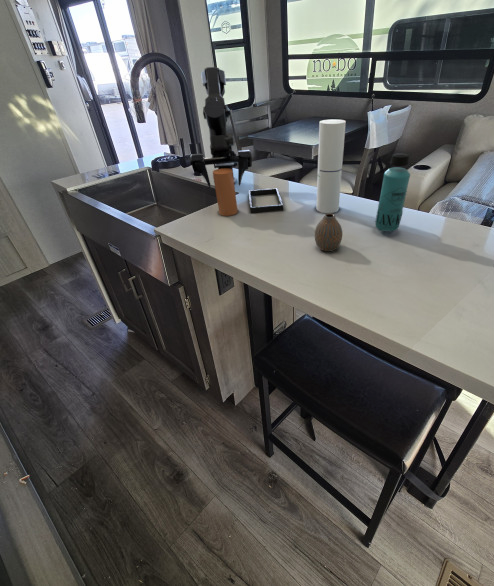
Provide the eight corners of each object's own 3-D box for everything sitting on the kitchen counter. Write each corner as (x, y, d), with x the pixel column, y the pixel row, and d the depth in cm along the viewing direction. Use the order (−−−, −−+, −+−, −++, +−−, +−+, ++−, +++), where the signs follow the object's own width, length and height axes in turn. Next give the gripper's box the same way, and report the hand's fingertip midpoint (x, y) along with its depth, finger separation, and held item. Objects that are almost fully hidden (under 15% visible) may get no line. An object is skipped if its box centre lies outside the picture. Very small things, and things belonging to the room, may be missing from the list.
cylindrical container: (328, 215, 96) (333, 124, 81) (311, 209, 101) (314, 122, 86) (343, 208, 100) (351, 120, 85) (326, 203, 104) (331, 118, 89)
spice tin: (223, 208, 104) (217, 167, 96) (240, 209, 103) (235, 168, 95) (216, 215, 100) (209, 173, 92) (233, 216, 98) (227, 174, 90)
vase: (325, 238, 84) (327, 207, 79) (346, 246, 80) (349, 214, 75) (308, 248, 80) (309, 216, 75) (329, 257, 76) (332, 223, 71)
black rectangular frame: (248, 195, 113) (248, 190, 112) (277, 193, 114) (277, 188, 113) (250, 213, 100) (250, 207, 99) (283, 210, 101) (283, 205, 100)
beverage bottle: (369, 229, 87) (380, 153, 75) (387, 224, 89) (401, 149, 77) (384, 238, 83) (399, 159, 70) (403, 233, 85) (421, 155, 73)
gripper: (183, 125, 90) (188, 175, 88) (248, 120, 91) (254, 169, 89) (191, 148, 101) (196, 193, 99) (248, 143, 102) (254, 188, 100)
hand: (224, 186), depth 97 cm, fingers open, 9 cm apart
